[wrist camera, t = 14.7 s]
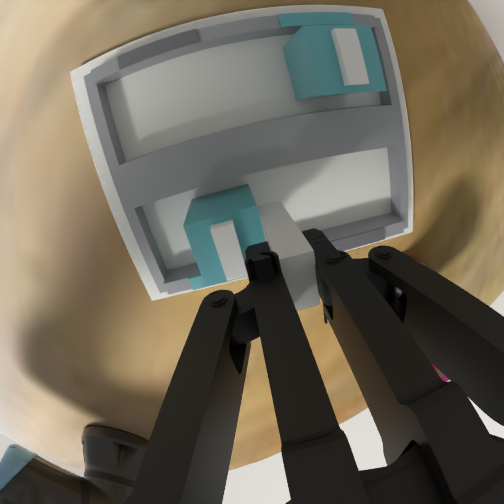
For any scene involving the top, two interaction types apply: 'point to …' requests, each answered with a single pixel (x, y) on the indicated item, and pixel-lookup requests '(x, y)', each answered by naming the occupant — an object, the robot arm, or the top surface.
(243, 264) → the tab
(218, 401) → the robot arm
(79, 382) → the top surface
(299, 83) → the tab
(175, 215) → the switch board
